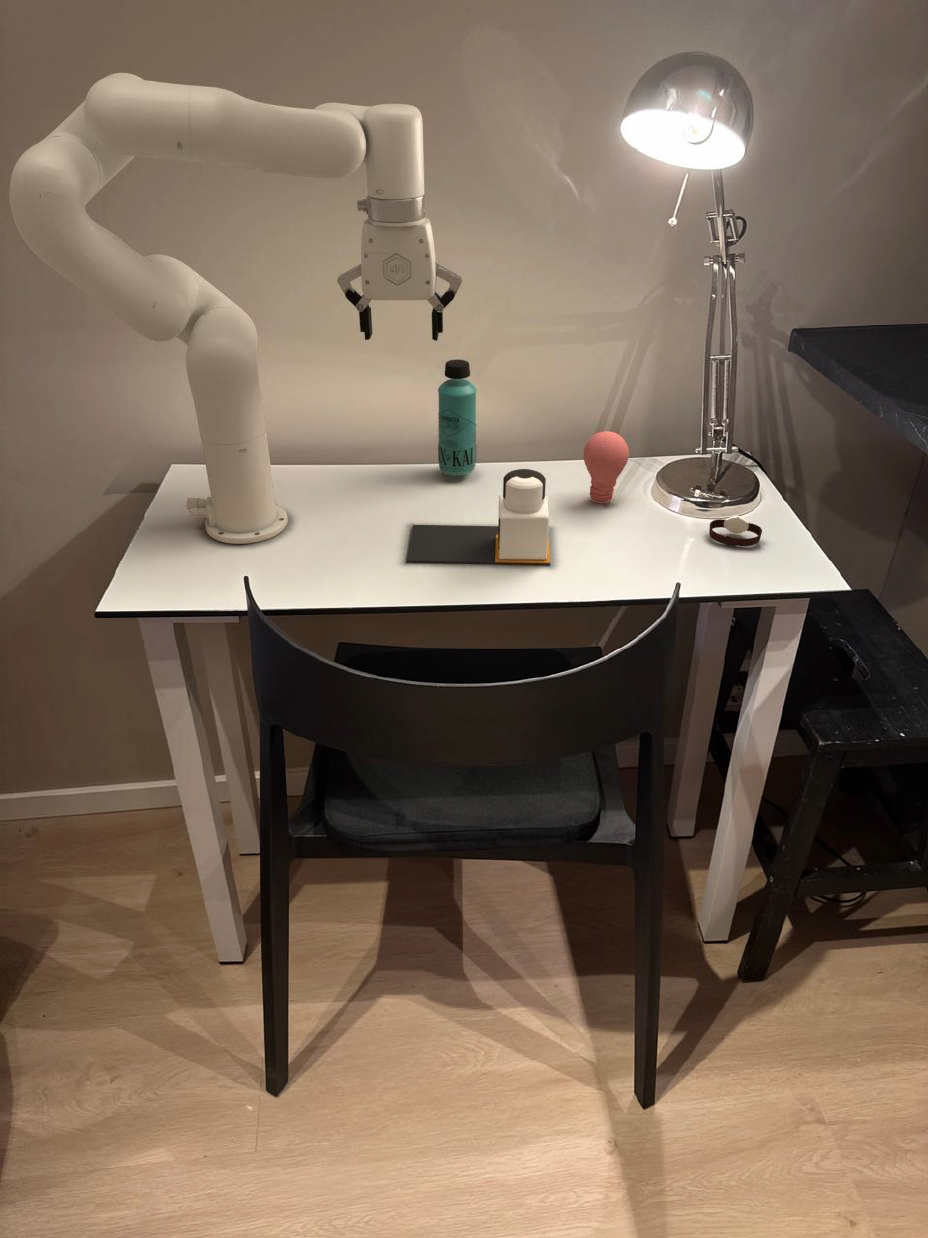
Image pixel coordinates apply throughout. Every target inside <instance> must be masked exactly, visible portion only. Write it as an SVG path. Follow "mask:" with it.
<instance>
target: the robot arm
mask: <svg viewBox="0 0 928 1238" xmlns="http://www.w3.org/2000/svg"><path fill="white" fill-rule="evenodd" d="M134 158H147V159H148V158H149V159H157V160H159V159H160V160H161V159H162V160H172V161H173V160H174V161H182V162H194V163H202V164H213V165H222V166H226V167H231V168H235V169H245V170H252V171H258V172H263V173H269V174H276V175H282V176H283V175H284V176H293V177H302V178H303V177H304V178H314V179H315V178H316V179H329V180H332V179H333V180H335V179H341V178H346V177H348V176H351V175H352V174H354V173H355V172H356V171H357V170H358V169H359V168H360V167H361V165H362V163H364V165H365V170H366V186H367V189H366V190H367V196H366V197H365V198H363V199H359V200H356V201H357V204H356V207H357V211H358V212H363V213H365V214H366V215H367V219H365V220H364V221H363V223H362V230H361V241H360V242H361V244H360V264H359V263H358V265H356V266H354V267H352V268H351V269H348V270H347V271H345V272H343V273H341V274H340V275H339V276H338V277H337V278H336V282H337V284H338V286H339V288H340V289H341V291H342V293H343V294H344V297H345V298H346V300H348V301H349V303H351V304H352V305H353V306H354V307H355V309H356V310H357V312H358V316H359V318H358V319H359V331H360V333H364V340H365V341H369V340H370V339H371V338H372V335H373V320H372V319H373V318H372V307H371V306H370V303H371V301H373V300H374V301H427V302H428V303H429V304H430V306H432V310H431V340H433V341H435V342H437V341H438V339H439V334H442V333H443V332H444V310H445V309H446V307H447V306H448V305H449V304H450V303H451V302H452V301H453V300H454V299H455V297H456V295H457V293H458V292H459V289H460V288H461V286H462V282H463V278H462V276H461V275H459V274H457V273H456V272H454V271H452V270H450V269H448V268H446V267H444V266H442V265H440V264H439V263H437V261H436V249H435V241H434V233H433V229H432V224H431V220H430V219H429V218H427V217H426V201H425V200H426V199H425V198H426V197H425V195H426V194H425V163H424V162H425V161H424V160H425V159H424V158H425V155H424V124H423V116H422V113H421V111H420V110H419V108H418V107H416V106H414V105H411V104H406V103H383V104H382V103H381V104H375V105H372V106H368V105H357V104H349V103H342V102H325V103H322V104H319V105H317V106H316V107H314V108H302V107H294V106H293V107H291V106H286V105H285V106H284V105H278V104H271V103H265V102H262V101H261V102H260V101H256V100H253V99H250V98H246V97H244V96H243V95H240V94H238V93H236V92H234V91H231V90H229V89H224V88H221V87H216V86H205V85H194V84H193V85H191V84H180V83H171V82H162V81H156V80H155V81H154V80H146V79H144V78H142V77H140V76H138V75H135V74H134V73H133V74H132V73H129V72H116V73H111V74H109V75H107V76H104V77H103V78H101V79H99V80H98V81H96V82H95V83H94V84H93V85H92V86H91V87H90V88H89V90H88V91H87V94H86V97H85V99H84V101H83V102H82V103H80V105H79V106H78V107H77V108H76V109H74V111H72V112H71V114H69V115H68V116H67V117H65V119H64V120H63V121H62V122H61V123H60V124H59V125H58V126H57V127H56V128H54V129H53V131H51V132H50V133H49V134H48V135H47V136H46V137H44V138H43V139H42V140H40V141H39V142H37V143H35V144H34V145H32V146H30V147H29V148H28V149H27V150H25V151H24V152H23V153H22V154H21V156H19V158H18V159H17V161H16V163H15V165H14V167H13V170H12V172H11V176H10V182H9V205H10V206H9V207H10V211H11V215H12V219H13V222H14V225H15V227H16V229H17V231H18V233H19V235H20V236H21V238H22V239H23V241H24V243H25V244H26V245H27V247H28V248H29V249H30V250H31V251H32V252H33V253H34V255H36V256H37V257H38V258H39V259H40V260H41V261H42V262H43V263H45V265H47V266H48V267H50V268H51V269H52V270H53V271H55V272H56V273H58V274H59V275H60V276H62V277H63V278H64V279H66V280H67V281H68V282H70V283H71V284H73V285H74V286H75V287H76V288H78V289H79V290H80V291H82V292H83V293H85V294H86V295H87V296H88V297H89V298H91V299H92V300H93V301H95V303H97V304H99V305H100V306H101V307H103V308H104V309H105V310H106V311H108V312H109V313H111V314H112V315H114V317H116V318H118V319H119V320H120V321H121V322H123V323H124V324H125V325H126V326H128V327H129V328H130V329H132V330H133V331H134V332H135V333H137V334H138V335H139V336H141V337H144V338H145V339H147V340H149V341H154V342H160V343H161V342H168V341H172V340H173V339H175V338H177V339H179V340H180V341H181V342H183V343H184V344H185V345H187V347H186V354H185V367H186V375H187V380H188V384H189V389H190V392H191V396H192V400H193V404H194V408H195V415H196V420H197V425H198V433H199V436H200V441H201V446H202V447H201V448H202V452H203V458H204V465H205V471H206V475H207V481H208V488H209V494H210V496H207V497H206V498H199V497H187V499H186V502H185V507H186V510H187V511H189V515H190V517H205V518H206V519H205V522H204V525H205V531H206V533H207V534H208V536H209V537H210V538H212V539H213V540H216V541H218V542H221V543H225V544H231V545H232V544H234V545H245V544H253V543H258V542H263V541H266V540H269V539H271V538H274V537H275V536H277V535H279V534H281V532H283V530H284V529H286V528H287V525H288V523H289V522H288V521H289V519H288V513H287V511H286V509H284V508H283V507H282V506H281V505H279V504H277V503H276V497H275V489H274V482H273V481H274V479H273V473H272V472H273V471H272V466H271V465H272V464H271V458H270V450H269V443H268V433H267V427H266V421H265V419H266V418H265V412H264V407H263V406H264V405H263V399H262V393H261V386H260V377H259V369H258V368H259V367H258V366H259V365H258V352H259V350H258V348H259V336H258V331H257V327H256V326H255V323H254V322H253V320H252V318H251V317H250V316H249V315H248V313H246V311H245V310H243V308H242V307H240V306H239V305H238V304H236V303H235V302H234V301H233V300H231V299H230V298H229V297H228V296H226V295H225V294H224V293H223V292H221V291H220V290H219V289H218V288H216V287H215V286H214V285H213V284H212V283H210V282H209V281H207V280H206V279H205V278H204V277H203V276H201V275H200V274H199V273H197V272H196V271H195V270H194V269H193V268H191V266H189V265H187V264H186V263H184V262H183V261H181V260H179V259H178V258H175V257H173V256H170V255H166V254H160V253H157V254H155V253H154V254H149V255H146V256H143V255H142V254H140V253H139V252H137V250H135V249H133V248H132V247H131V246H130V245H129V244H128V243H126V242H125V240H123V239H121V237H119V236H117V235H116V234H115V233H113V232H112V231H110V230H109V229H107V228H105V227H104V226H103V225H101V224H99V223H97V222H96V221H95V220H93V219H92V217H90V215H89V214H88V212H87V210H86V205H88V203H89V202H91V200H92V199H93V198H94V197H95V196H96V195H97V194H98V193H99V192H100V190H101V189H102V188H104V187H105V185H107V184H108V182H110V181H111V180H112V179H113V178H114V177H115V176H116V175H118V174H119V172H120V171H122V170H123V169H124V168H125V167H126V166H127V165H128V164H129V163H130V162H131V161H132V160H134ZM359 277H360V278H361V289H362V290H361V291H362V295H361V294H360V293H358V291H357V290H355V288H353V285H352V284H351V282H352V281H354V280H356V279H358V278H359ZM437 277H438V278H439V279H442V280H443V281H444V282H447V283H449V286H448V288H447V290H446V291H445V292H444V293H442V295H441V294H440V293H439V292H438V291H437Z"/></svg>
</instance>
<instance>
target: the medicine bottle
mask: <svg viewBox="0 0 928 1238" xmlns="http://www.w3.org/2000/svg"><path fill="white" fill-rule="evenodd" d="M502 479H503V481H502V494H500V495H499V496H498V521H497V523H498V525H497V526H498V558H499V559H518V560H546V559H547V550H548V533H549V531H550V530H549V528H550V513H549V500H548V496H547V495H546V483H547V481H546V480H547V479H546V477H545V475H544V474H542V472H539V471H537V470H534V469H531V468H518V469H514V470H511V471H509V472H507V473H506V474H505V475H504V476H503V478H502Z"/></svg>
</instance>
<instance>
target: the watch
mask: <svg viewBox="0 0 928 1238" xmlns="http://www.w3.org/2000/svg"><path fill="white" fill-rule="evenodd" d="M708 528H709V531H708V534H709V536H710V538H711V539H712V540H713V541H715V542H717V543H719V544H722V545H726V546H730V547H745V548H746V547H752V546H755V545H757V544H758V543H760V541H761V537H762V533H763V529H762V528H761V526H759V525H758V524H755V523H751V522H748V521H747V520H746V519H745V518H744V517H743V516H740V515H738V514H737V515H732V516H730V517H728V518H727V519H726V518H725V519H722V518H720V519H717V518H716V519H713V520H712V521H710V522H709V527H708ZM717 528H723V529H726V530H727V531H728V532H729V533H732V534H736V535H737V534H742V533H745V532H750V533H753V534H755V535H757V536H755V537H754V536H753V537H750V538H748V537H747V538H742V537H733V536H731V535H723V534H721V533H719V532H716V531H715V530H714V529H717Z"/></svg>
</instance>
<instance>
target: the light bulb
mask: <svg viewBox="0 0 928 1238" xmlns="http://www.w3.org/2000/svg"><path fill="white" fill-rule="evenodd" d="M582 453H583V454H582V458H583V461H584V462H583V463H584V465H585V467H586V470H587V472H588V474H589V476H590V478H591V479H590V484H591V485H590V487H589V498H590V499H591V501H592V502H595V503H599V504H606V503H609V502H612V501H613V497H614V493H615V487H616V485H617V480H618V477H619V476H620V475H621V474H622V473H623V470H624V469H625V467H626V466H627V463H628V461H629V456H630V449H629V446H628V443H627V442H626V440H625V439H624V438H623V437H622V436H621V435H620V434H618V433H616V432H614V431H608V430H607V431H606V430H605V431H600V432H597V433H595V434H594V435H592V436H591V437H590V438H589V439H588V440H587V441H586V443H585V445H584V447H583V452H582Z"/></svg>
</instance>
